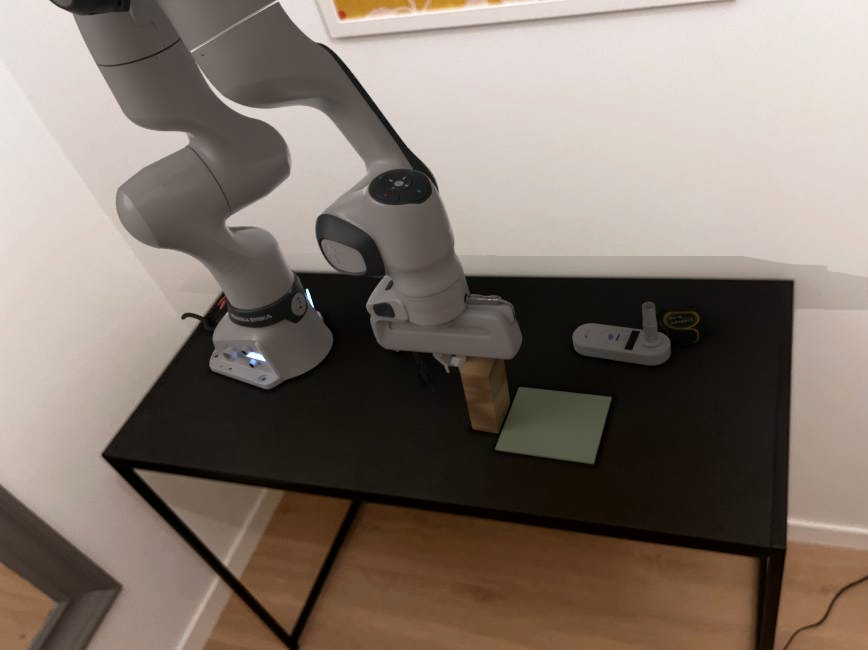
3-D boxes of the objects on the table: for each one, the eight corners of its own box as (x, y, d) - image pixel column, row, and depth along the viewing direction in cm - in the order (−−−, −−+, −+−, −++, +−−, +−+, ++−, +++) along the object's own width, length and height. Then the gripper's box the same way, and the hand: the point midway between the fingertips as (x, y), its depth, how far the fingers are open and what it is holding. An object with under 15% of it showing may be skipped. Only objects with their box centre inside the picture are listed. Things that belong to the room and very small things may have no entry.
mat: (495, 450, 100) (495, 448, 99) (519, 388, 107) (519, 386, 107) (593, 464, 95) (593, 462, 94) (611, 398, 102) (611, 396, 102)
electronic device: (573, 285, 107) (672, 295, 101) (581, 333, 114) (675, 346, 107) (560, 308, 104) (662, 320, 97) (569, 355, 111) (665, 370, 104)
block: (472, 429, 103) (459, 372, 95) (485, 398, 107) (474, 341, 98) (498, 433, 102) (488, 376, 93) (510, 402, 106) (501, 345, 97)
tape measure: (701, 318, 111) (701, 299, 108) (709, 348, 106) (710, 329, 103) (656, 323, 112) (655, 305, 109) (662, 353, 107) (661, 334, 104)
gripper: (518, 281, 88) (535, 361, 97) (374, 275, 96) (402, 349, 105) (503, 314, 84) (522, 394, 93) (354, 305, 92) (385, 380, 101)
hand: (458, 370), depth 99 cm, fingers closed
